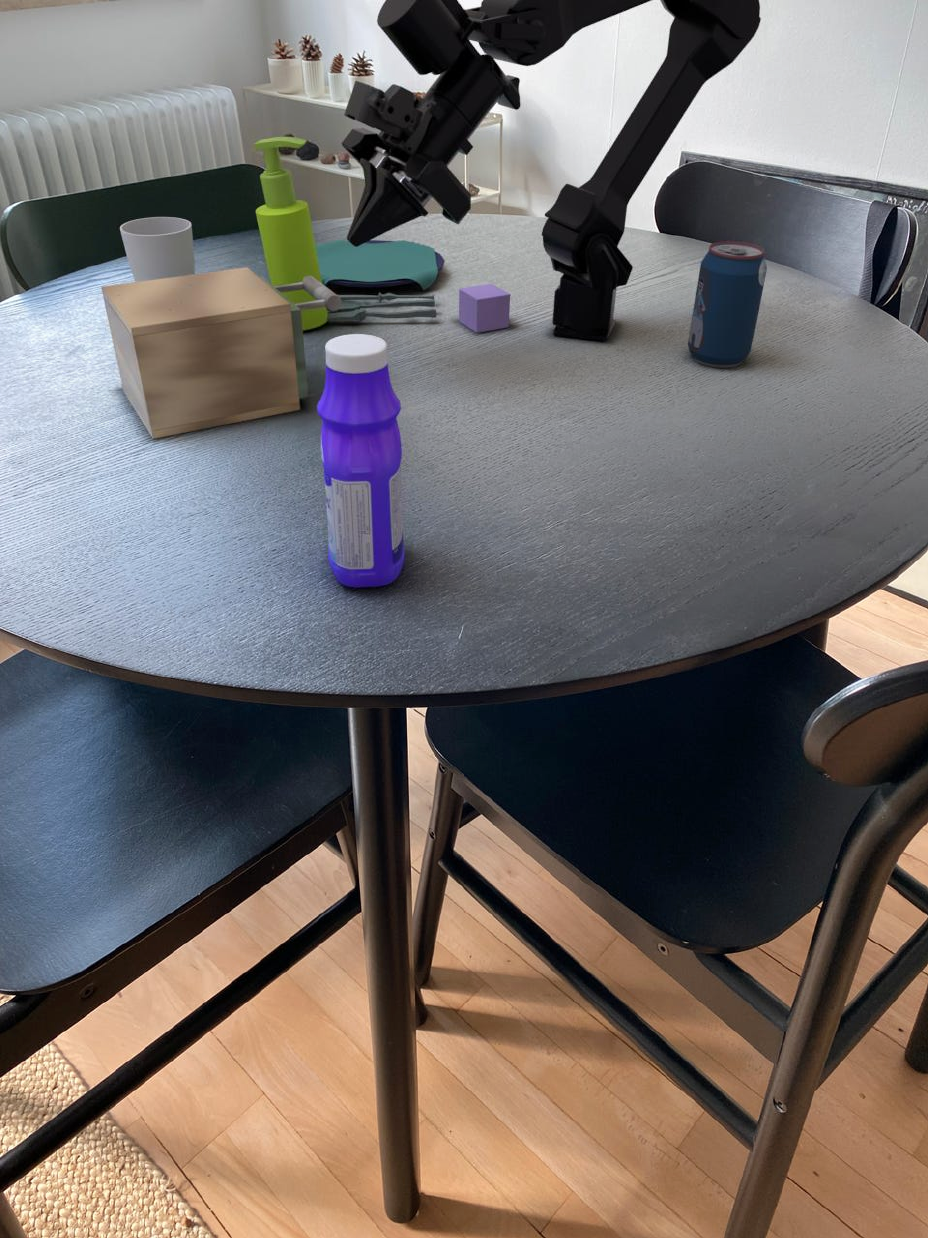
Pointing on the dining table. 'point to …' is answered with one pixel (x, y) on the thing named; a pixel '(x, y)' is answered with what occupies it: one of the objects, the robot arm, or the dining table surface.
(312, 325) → the soap dispenser
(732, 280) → the soda can
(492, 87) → the robot arm
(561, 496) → the dining table surface
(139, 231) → the cup
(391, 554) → the bottle
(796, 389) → the dining table surface
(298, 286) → the drawer with grey handle
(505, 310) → the lavender cube block
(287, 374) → the wooden drawer box
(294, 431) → the dining table surface
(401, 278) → the cutlery set
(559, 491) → the dining table surface
